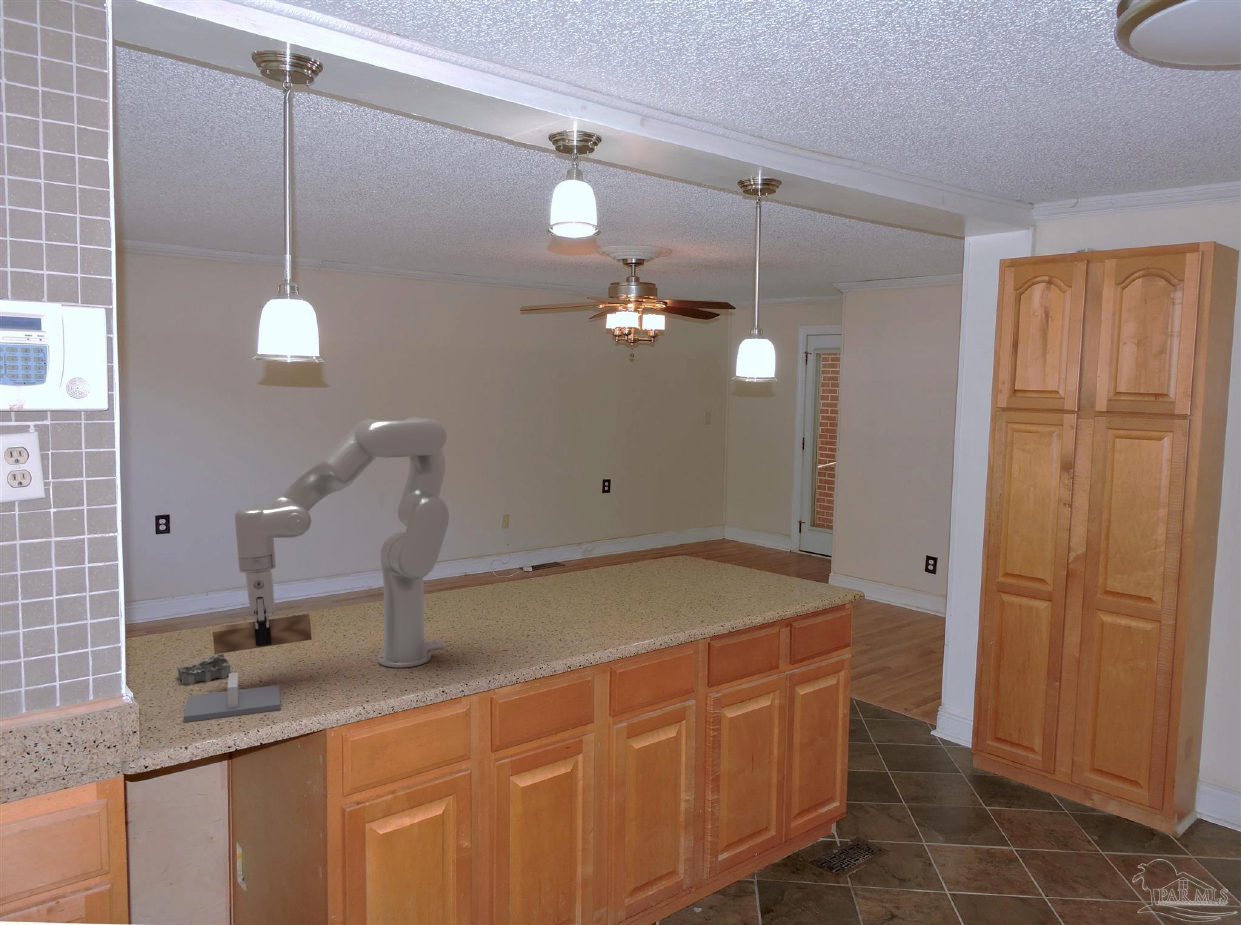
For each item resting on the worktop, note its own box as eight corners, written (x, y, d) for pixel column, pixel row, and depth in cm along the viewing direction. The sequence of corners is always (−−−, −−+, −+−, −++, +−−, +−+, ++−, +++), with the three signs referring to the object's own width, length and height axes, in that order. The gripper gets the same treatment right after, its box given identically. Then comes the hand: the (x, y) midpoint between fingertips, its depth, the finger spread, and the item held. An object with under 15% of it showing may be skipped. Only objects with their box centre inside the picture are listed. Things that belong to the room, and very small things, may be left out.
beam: (310, 634, 196) (308, 613, 196) (311, 639, 192) (309, 618, 192) (215, 648, 188) (213, 626, 188) (214, 654, 185) (212, 632, 184)
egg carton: (226, 669, 202) (225, 652, 201) (233, 678, 196) (232, 661, 195) (176, 677, 195) (175, 660, 195) (181, 687, 189) (181, 669, 189)
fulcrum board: (279, 690, 188) (278, 665, 187) (280, 709, 177) (279, 683, 176) (188, 701, 181) (187, 675, 180) (183, 722, 170) (182, 695, 169)
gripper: (276, 568, 182) (282, 650, 184) (274, 552, 197) (280, 628, 199) (237, 572, 179) (245, 656, 181) (239, 556, 194) (246, 633, 197)
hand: (263, 641), depth 190 cm, fingers closed on beam, 4 cm apart
